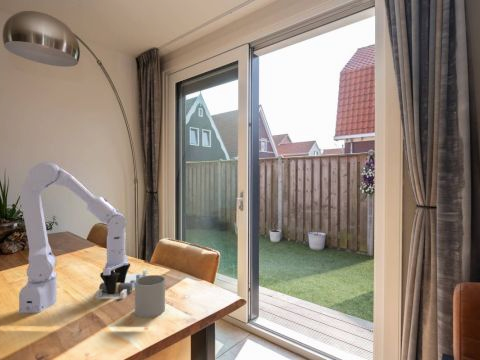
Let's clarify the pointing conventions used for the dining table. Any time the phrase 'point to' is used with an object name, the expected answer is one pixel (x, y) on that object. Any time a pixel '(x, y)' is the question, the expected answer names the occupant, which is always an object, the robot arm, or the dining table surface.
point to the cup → (149, 296)
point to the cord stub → (118, 287)
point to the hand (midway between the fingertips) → (116, 289)
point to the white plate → (129, 279)
